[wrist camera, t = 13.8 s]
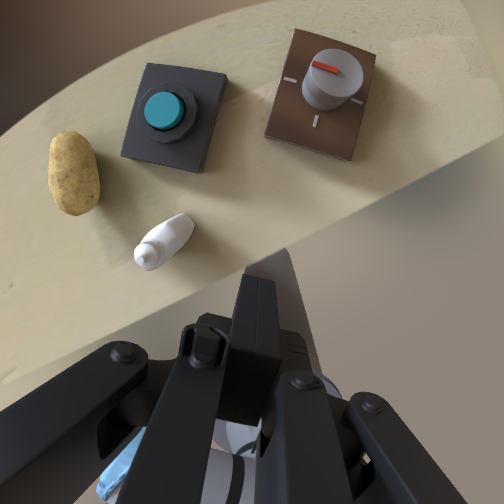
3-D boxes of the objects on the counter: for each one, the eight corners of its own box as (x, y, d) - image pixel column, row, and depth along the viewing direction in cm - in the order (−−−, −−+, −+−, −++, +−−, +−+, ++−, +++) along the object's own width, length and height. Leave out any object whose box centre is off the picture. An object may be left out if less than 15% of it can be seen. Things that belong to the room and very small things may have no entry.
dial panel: (345, 161, 35) (351, 161, 33) (264, 137, 35) (264, 134, 32) (370, 61, 32) (376, 54, 29) (293, 36, 32) (295, 27, 29)
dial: (349, 78, 30) (369, 58, 23) (339, 117, 32) (358, 104, 25) (307, 64, 30) (318, 40, 23) (296, 102, 32) (304, 85, 24)
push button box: (201, 173, 36) (194, 173, 32) (127, 156, 36) (113, 156, 32) (228, 79, 33) (224, 69, 29) (152, 67, 33) (141, 58, 29)
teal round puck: (178, 132, 32) (174, 130, 30) (145, 126, 32) (139, 124, 30) (188, 98, 31) (184, 94, 29) (155, 93, 31) (150, 89, 29)
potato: (74, 217, 38) (48, 225, 32) (60, 140, 36) (33, 138, 30) (113, 205, 38) (89, 212, 32) (99, 124, 35) (73, 119, 29)
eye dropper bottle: (150, 223, 38) (106, 246, 27) (190, 209, 38) (159, 227, 26) (161, 256, 39) (123, 290, 28) (202, 243, 39) (176, 274, 27)
